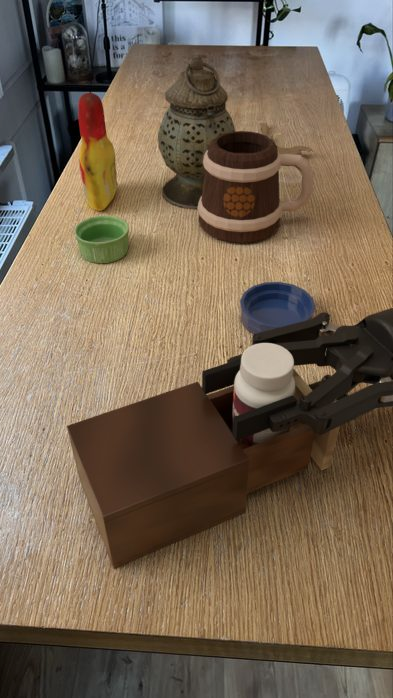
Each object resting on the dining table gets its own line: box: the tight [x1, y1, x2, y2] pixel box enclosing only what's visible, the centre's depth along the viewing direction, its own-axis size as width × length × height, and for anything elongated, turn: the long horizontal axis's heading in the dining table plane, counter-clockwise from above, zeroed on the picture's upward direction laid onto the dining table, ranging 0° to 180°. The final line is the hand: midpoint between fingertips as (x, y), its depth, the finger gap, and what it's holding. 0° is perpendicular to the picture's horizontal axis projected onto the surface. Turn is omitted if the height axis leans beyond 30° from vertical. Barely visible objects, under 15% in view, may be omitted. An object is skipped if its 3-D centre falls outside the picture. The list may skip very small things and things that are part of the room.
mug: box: [197, 130, 315, 244], centre depth 101 cm, size 20×15×15 cm
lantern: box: [157, 55, 236, 210], centre depth 107 cm, size 14×14×25 cm
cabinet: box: [66, 381, 249, 569], centre depth 60 cm, size 15×12×9 cm
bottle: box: [78, 92, 119, 211], centre depth 106 cm, size 12×6×20 cm, turn 175°
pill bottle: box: [232, 343, 295, 449], centre depth 61 cm, size 6×6×11 cm
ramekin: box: [73, 214, 130, 264], centre depth 98 cm, size 9×9×4 cm
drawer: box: [207, 367, 349, 494], centre depth 65 cm, size 18×10×7 cm, turn 115°
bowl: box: [239, 281, 317, 335], centre depth 85 cm, size 11×11×3 cm
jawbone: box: [260, 122, 315, 156], centre depth 131 cm, size 9×20×2 cm, turn 27°
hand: (219, 404), depth 58 cm, fingers closed on pill bottle, 6 cm apart
